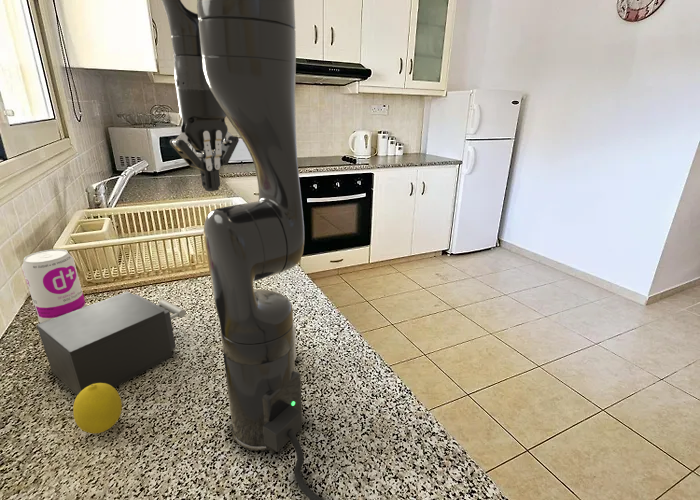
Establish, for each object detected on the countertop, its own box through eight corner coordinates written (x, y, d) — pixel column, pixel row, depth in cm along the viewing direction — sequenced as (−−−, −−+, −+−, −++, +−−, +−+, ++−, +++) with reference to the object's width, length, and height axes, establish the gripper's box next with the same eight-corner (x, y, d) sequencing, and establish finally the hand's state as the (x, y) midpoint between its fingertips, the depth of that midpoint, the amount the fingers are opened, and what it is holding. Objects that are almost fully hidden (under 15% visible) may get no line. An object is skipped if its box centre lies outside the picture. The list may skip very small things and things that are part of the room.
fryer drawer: (163, 318, 79) (157, 285, 77) (196, 336, 73) (190, 302, 71) (67, 362, 66) (55, 324, 63) (98, 388, 60) (86, 348, 57)
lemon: (105, 449, 50) (92, 403, 47) (71, 442, 51) (55, 396, 48) (135, 418, 55) (124, 375, 53) (103, 412, 56) (91, 369, 54)
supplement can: (95, 317, 81) (79, 253, 75) (51, 335, 74) (29, 267, 69) (77, 306, 85) (60, 245, 79) (34, 323, 78) (12, 257, 73)
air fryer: (136, 333, 76) (127, 291, 72) (172, 356, 69) (164, 310, 66) (51, 372, 64) (36, 324, 61) (85, 403, 58) (69, 352, 54)
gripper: (177, 85, 55) (192, 200, 62) (246, 90, 66) (253, 187, 72) (149, 86, 59) (166, 193, 66) (218, 90, 70) (227, 182, 76)
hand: (212, 190), depth 69 cm, fingers closed
